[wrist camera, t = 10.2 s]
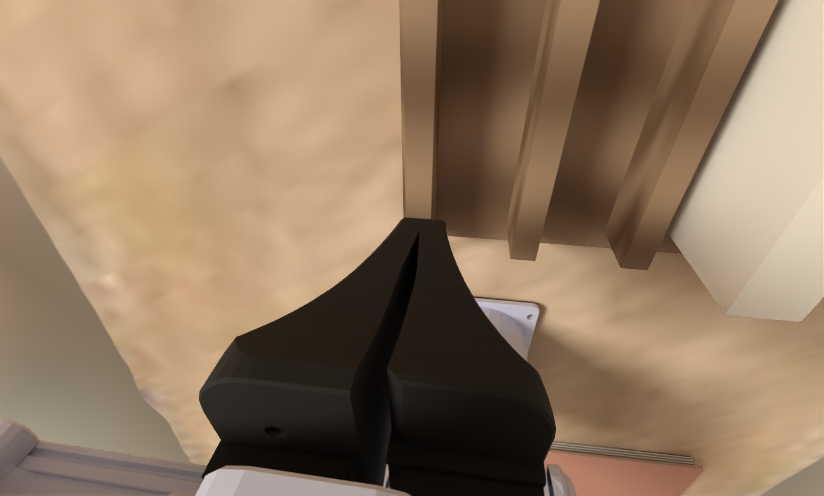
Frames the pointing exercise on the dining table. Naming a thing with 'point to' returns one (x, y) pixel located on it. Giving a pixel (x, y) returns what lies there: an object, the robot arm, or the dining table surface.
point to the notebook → (622, 470)
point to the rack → (565, 115)
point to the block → (764, 179)
